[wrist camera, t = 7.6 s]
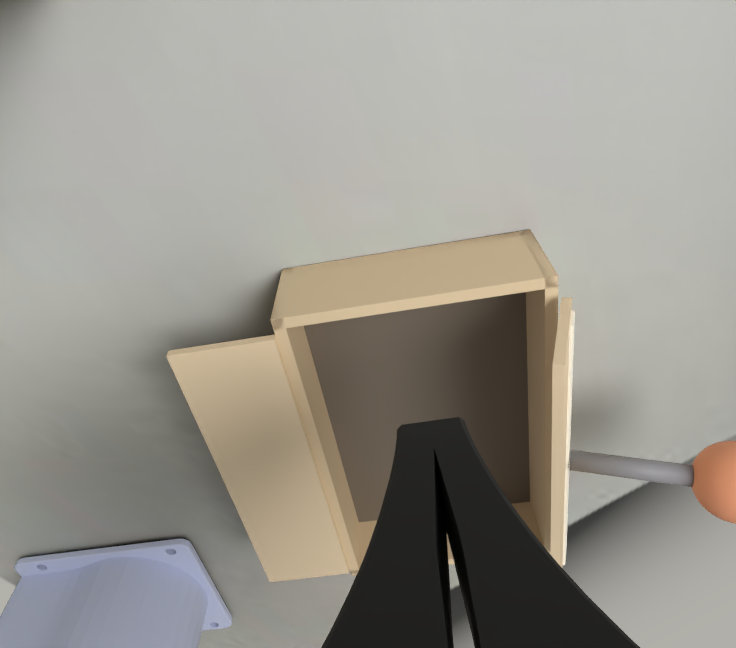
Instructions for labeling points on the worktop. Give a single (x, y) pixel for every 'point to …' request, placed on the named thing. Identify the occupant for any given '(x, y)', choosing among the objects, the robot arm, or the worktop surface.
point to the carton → (379, 391)
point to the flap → (706, 475)
